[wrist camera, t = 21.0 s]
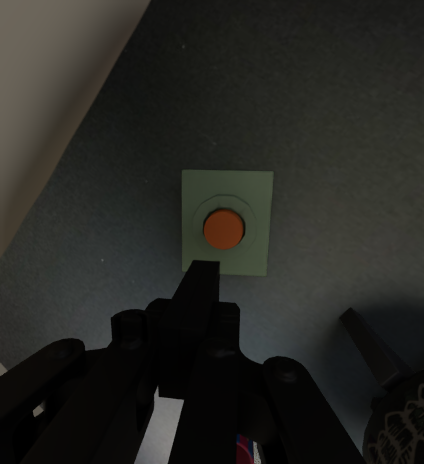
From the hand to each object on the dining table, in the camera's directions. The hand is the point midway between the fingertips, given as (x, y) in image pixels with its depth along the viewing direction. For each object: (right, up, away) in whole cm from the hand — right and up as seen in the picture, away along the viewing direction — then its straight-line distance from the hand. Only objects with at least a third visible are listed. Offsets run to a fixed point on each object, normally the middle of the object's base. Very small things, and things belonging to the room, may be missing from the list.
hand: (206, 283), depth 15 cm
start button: (+2, +3, +14) cm, 15 cm away
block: (+2, +4, +18) cm, 18 cm away
